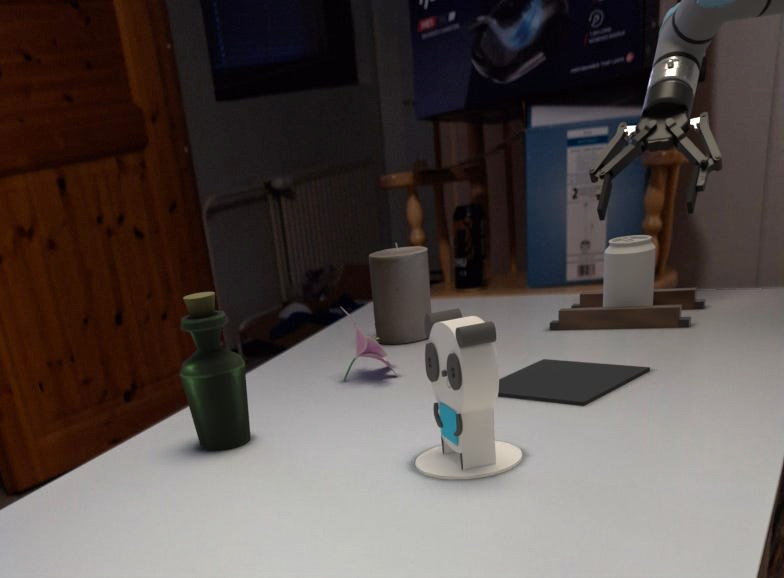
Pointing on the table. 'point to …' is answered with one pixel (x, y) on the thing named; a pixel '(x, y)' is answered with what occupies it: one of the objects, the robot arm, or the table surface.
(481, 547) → the table surface
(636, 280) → the can
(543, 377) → the mat
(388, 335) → the pillar candle
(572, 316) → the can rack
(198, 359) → the potion bottle
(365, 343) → the lily
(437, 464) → the panda figurine
